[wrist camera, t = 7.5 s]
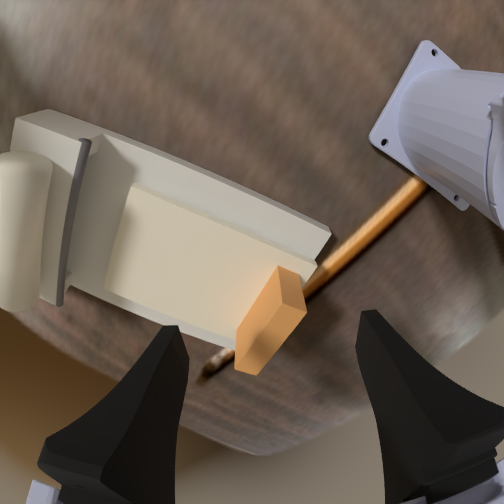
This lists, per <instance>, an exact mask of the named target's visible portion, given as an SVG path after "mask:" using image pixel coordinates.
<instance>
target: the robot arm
mask: <svg viewBox="0 0 504 504" xmlns="http://www.w3.org/2000/svg"><path fill="white" fill-rule="evenodd" d="M432 50H434V52H435V56H433V55H432V52H431V51H432ZM383 139H386V144H385V145H384V146H382V145H381V141H382V140H383ZM369 141H370V143H372V144H373V145H374V146H376V147H377V148H379V149H380V150H382V151H383V152H385V153H386V154H388V155H389V156H390V157H392V158H393V159H395V160H396V161H398V162H399V163H401V164H402V165H403V166H405V167H406V168H407V169H409V170H410V171H412V172H413V173H414V174H416V175H417V176H418V177H420V178H421V179H422V180H424V181H425V182H426V183H428V184H429V185H430V186H431V187H433V188H434V189H435V190H437V191H438V192H439V193H440V194H442V195H443V196H444V197H445V198H447V199H448V200H449V201H450V202H451V203H453V204H454V205H455V206H456V207H457V208H459V209H460V210H462V211H465V210H466V209H467V208H468V207H469V205H472V206H473V207H474V208H476V209H477V210H478V211H480V212H481V213H482V214H484V215H485V216H486V217H487V218H489V219H490V220H491V221H492V222H494V223H495V224H496V225H497V226H499V227H500V228H501V229H502V230H503V231H504V74H502V73H494V72H485V71H474V70H462V69H461V68H460V67H459V66H458V65H457V64H456V63H454V62H453V61H452V60H451V59H450V58H449V57H448V56H447V55H446V54H445V53H444V52H442V51H441V50H440V49H439V48H438V47H437V46H435V45H434V44H433V43H432V42H430V41H428V40H425V41H422V42H421V43H420V44H419V46H418V48H417V50H416V52H415V54H414V55H413V57H412V59H411V61H410V63H409V65H408V67H407V68H406V70H405V72H404V74H403V76H402V77H401V79H400V81H399V83H398V85H397V86H396V88H395V90H394V92H393V94H392V95H391V97H390V99H389V101H388V102H387V104H386V106H385V108H384V109H383V111H382V113H381V115H380V116H379V118H378V120H377V122H376V123H375V125H374V127H373V129H372V130H371V132H370V134H369ZM455 195H457V196H456V198H455V199H454V196H455ZM355 348H356V353H357V358H358V363H359V367H360V371H361V374H362V377H363V380H364V383H365V386H366V389H367V392H368V395H369V398H370V401H371V405H372V408H373V411H374V414H375V418H376V422H377V428H378V433H379V439H380V446H381V453H382V461H383V470H384V482H385V484H384V485H385V504H504V458H503V459H501V460H499V461H498V462H497V463H496V462H495V459H494V457H496V456H497V452H496V449H495V447H496V446H497V445H498V444H499V443H500V442H501V441H502V440H503V439H504V407H502V406H499V405H497V404H495V403H493V402H490V401H487V400H485V399H483V398H481V397H479V396H477V395H476V394H474V393H472V392H470V391H468V390H467V389H465V388H463V387H462V386H460V385H458V384H457V383H455V382H453V381H452V380H451V379H449V378H448V377H446V376H445V375H444V374H442V373H441V372H440V371H438V370H437V369H436V368H435V367H433V366H432V365H431V364H430V363H428V362H427V361H426V360H425V359H424V358H423V357H422V356H421V355H419V354H418V353H417V352H416V351H415V350H414V349H413V348H412V347H411V346H410V345H409V344H408V343H407V342H406V341H405V340H404V339H403V338H402V337H401V336H400V335H399V334H398V333H397V332H396V331H395V329H394V328H393V327H392V326H391V325H390V324H389V323H388V322H387V321H386V320H385V319H384V318H383V316H382V315H381V314H380V313H379V312H378V311H377V310H376V309H375V310H367V311H361V317H360V323H359V329H358V334H357V340H356V345H355ZM188 372H189V356H188V353H187V350H186V347H185V345H184V342H183V339H182V336H181V333H180V330H179V327H178V325H164V326H163V327H162V328H161V329H160V331H159V332H158V333H157V335H156V336H155V338H154V339H153V340H152V342H151V343H150V344H149V346H148V347H147V348H146V350H145V351H144V353H143V354H142V355H141V356H140V358H139V359H138V360H137V362H136V363H135V364H134V365H133V367H132V368H131V369H130V370H129V371H128V373H127V374H126V375H125V376H124V377H123V379H122V380H121V381H120V382H119V383H118V384H117V385H116V386H115V387H114V388H113V389H112V390H111V391H110V392H109V393H108V394H107V395H106V396H105V397H104V398H103V399H102V400H101V401H100V402H99V403H98V404H96V405H95V406H94V407H93V408H91V409H90V410H89V411H88V412H87V413H85V414H84V415H83V416H81V417H80V418H79V419H77V420H76V421H74V422H73V423H71V424H70V425H68V426H67V427H65V428H63V429H62V430H60V431H58V432H56V433H55V434H53V435H51V436H49V437H47V438H46V440H45V442H44V445H43V448H42V451H41V453H40V456H39V459H38V462H37V465H38V467H39V468H40V469H41V470H42V471H43V472H44V473H46V474H47V475H48V476H50V477H51V478H53V479H54V480H56V481H57V482H59V483H60V484H62V487H61V490H59V489H57V488H55V487H52V486H50V485H47V484H45V483H42V482H40V481H37V480H35V479H34V480H33V481H32V484H31V488H30V491H29V495H28V498H27V502H26V504H175V455H176V454H175V453H176V441H177V431H178V425H179V420H180V415H181V411H182V406H183V401H184V396H185V391H186V387H187V382H188Z"/></svg>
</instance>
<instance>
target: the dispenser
mask: <svg viewBox="0 0 504 504" xmlns="http://www.w3.org/2000/svg"><path fill="white" fill-rule="evenodd" d="M134 183H136V184H138V185H141V186H143V187H146V188H148V189H150V190H153V191H155V192H157V193H160V194H162V195H165V196H167V197H169V198H172V199H174V200H176V201H179V202H181V203H183V204H186V205H188V206H190V207H193V208H195V209H197V210H200V211H202V212H204V213H207V214H209V215H211V216H214V217H216V218H218V219H221V220H223V221H225V222H228V223H230V224H232V225H235V226H237V227H239V228H242V229H244V230H246V231H248V232H251V233H253V234H255V235H258V236H260V237H262V238H264V239H267V240H269V241H271V242H273V243H276V244H278V245H280V246H283V247H285V248H287V249H289V250H292V251H294V252H296V253H298V254H301V255H303V256H305V257H307V258H310V259H312V260H315V258H316V257H317V255H318V254H319V252H320V251H321V249H322V248H323V246H324V245H325V243H326V242H327V240H328V239H329V237H330V236H331V234H332V233H331V231H330V229H329V227H328V226H326V225H324V224H322V223H320V222H318V221H316V220H314V219H312V218H310V217H308V216H306V215H304V214H302V213H299V212H297V211H295V210H293V209H291V208H289V207H287V206H285V205H283V204H281V203H279V202H277V201H274V200H272V199H270V198H268V197H266V196H264V195H262V194H259V193H257V192H255V191H253V190H251V189H249V188H246V187H244V186H242V185H240V184H238V183H235V182H233V181H231V180H229V179H226V178H224V177H222V176H220V175H217V174H215V173H213V172H210V171H208V170H206V169H204V168H201V167H199V166H197V165H194V164H192V163H190V162H187V161H185V160H182V159H180V158H178V157H175V156H173V155H170V154H168V153H166V152H163V151H161V150H158V149H156V148H153V147H151V146H148V145H146V144H143V143H141V142H138V141H136V140H133V139H131V138H128V137H126V136H123V135H120V134H118V133H115V132H113V131H110V130H107V129H105V128H102V127H99V126H96V125H94V124H91V123H88V122H86V121H83V120H80V119H77V118H74V117H72V116H69V115H66V114H63V113H60V112H57V111H54V110H51V109H46V110H42V111H38V112H34V113H31V114H27V115H24V116H20V117H17V118H16V119H15V124H14V129H13V134H12V140H11V146H10V151H8V152H4V153H1V154H0V307H1V308H2V309H4V310H6V311H9V312H24V311H27V310H29V309H31V308H32V307H33V306H34V305H35V304H36V303H37V301H38V299H39V297H40V298H41V299H43V300H45V301H47V302H49V303H51V304H53V305H55V306H58V307H60V306H62V305H63V300H64V293H65V292H66V290H67V289H68V288H69V286H70V285H72V286H74V287H76V288H78V289H80V290H83V291H85V292H87V293H89V294H91V295H93V296H96V297H98V298H100V299H102V300H104V301H107V302H109V303H111V304H114V305H116V306H118V307H120V308H123V309H125V310H128V311H130V312H132V313H135V314H137V315H140V316H142V317H144V318H147V319H149V320H152V321H154V322H157V323H159V324H162V325H178V327H179V330H180V332H183V333H186V334H188V335H191V336H194V337H197V338H200V339H202V340H205V341H208V342H211V343H214V344H217V345H220V346H223V347H226V348H229V349H232V350H235V348H236V340H234V339H231V338H228V337H225V336H222V335H219V334H216V333H213V332H211V331H208V330H205V329H202V328H200V327H197V326H194V325H191V324H189V323H186V322H183V321H181V320H178V319H176V318H173V317H170V316H168V315H165V314H163V313H160V312H158V311H155V310H153V309H150V308H148V307H145V306H143V305H141V304H138V303H136V302H133V301H131V300H129V299H126V298H124V297H122V296H119V295H117V294H115V293H112V292H110V291H108V290H106V289H104V284H105V280H106V275H107V271H108V267H109V263H110V258H111V254H112V250H113V246H114V243H115V239H116V235H117V231H118V228H119V224H120V221H121V217H122V214H123V210H124V207H125V204H126V200H127V197H128V194H129V191H130V188H131V186H132V185H133V184H134Z"/></svg>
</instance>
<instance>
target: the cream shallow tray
mask: <svg viewBox="0 0 504 504" xmlns="http://www.w3.org/2000/svg"><path fill="white" fill-rule="evenodd" d="M316 268H317V264H316V261H314V260H312V259H310V258H307V257H305V256H303V255H301V254H298V253H296V252H294V251H292V250H289V249H287V248H285V247H283V246H280V245H278V244H276V243H273V242H271V241H269V240H267V239H264V238H262V237H260V236H258V235H255V234H253V233H251V232H248V231H246V230H244V229H242V228H239V227H237V226H235V225H232V224H230V223H228V222H225V221H223V220H221V219H218V218H216V217H214V216H211V215H209V214H207V213H204V212H202V211H200V210H197V209H195V208H193V207H190V206H188V205H186V204H183V203H181V202H179V201H176V200H174V199H172V198H169V197H167V196H165V195H162V194H160V193H157V192H155V191H153V190H150V189H148V188H146V187H143V186H141V185H138V184H136V183H134V184H133V185H132V186H131V188H130V191H129V194H128V197H127V200H126V204H125V207H124V210H123V214H122V217H121V221H120V224H119V228H118V231H117V235H116V239H115V243H114V246H113V250H112V254H111V258H110V263H109V267H108V271H107V275H106V280H105V284H104V289H106V290H108V291H110V292H112V293H115V294H117V295H119V296H122V297H124V298H126V299H129V300H131V301H133V302H136V303H138V304H141V305H143V306H145V307H148V308H150V309H153V310H155V311H158V312H160V313H163V314H165V315H168V316H170V317H173V318H176V319H178V320H181V321H183V322H186V323H189V324H191V325H194V326H197V327H200V328H202V329H205V330H208V331H211V332H213V333H216V334H219V335H222V336H225V337H228V338H231V339H234V340H236V348H235V369H236V370H239V371H242V372H246V373H249V374H253V375H257V374H258V373H259V371H260V370H261V369H262V368H263V367H264V366H265V364H266V363H267V362H268V361H269V360H270V358H271V357H272V356H273V355H274V353H275V352H276V351H277V350H278V349H279V347H280V346H281V345H282V344H283V342H284V341H285V340H286V339H287V337H288V336H289V335H290V334H291V332H292V331H293V330H294V329H295V327H296V326H297V325H298V323H299V322H300V321H301V320H302V318H303V317H304V316H305V314H306V313H307V310H306V305H305V300H304V296H303V291H302V288H303V286H304V285H305V284H306V282H307V281H308V279H309V278H310V276H311V275H312V274H313V272H314V271H315V269H316Z"/></svg>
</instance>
